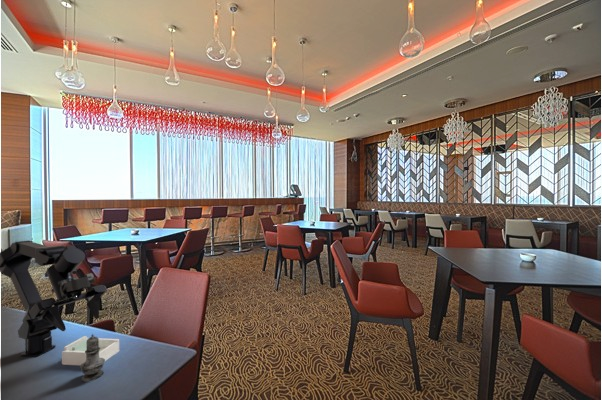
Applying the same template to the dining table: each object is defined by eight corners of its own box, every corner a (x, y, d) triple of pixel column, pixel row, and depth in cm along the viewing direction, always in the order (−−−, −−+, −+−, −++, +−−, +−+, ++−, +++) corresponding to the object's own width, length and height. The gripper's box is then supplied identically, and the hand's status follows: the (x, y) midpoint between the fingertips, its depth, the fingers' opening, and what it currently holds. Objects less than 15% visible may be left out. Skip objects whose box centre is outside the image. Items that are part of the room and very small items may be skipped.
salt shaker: (92, 383, 79) (91, 339, 79) (74, 380, 80) (74, 337, 81) (110, 370, 85) (109, 330, 85) (93, 368, 86) (93, 328, 86)
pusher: (72, 358, 90) (72, 347, 90) (89, 348, 96) (89, 337, 96) (75, 359, 90) (75, 347, 90) (92, 348, 96) (92, 337, 96)
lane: (62, 364, 89) (61, 348, 89) (86, 349, 98) (86, 334, 98) (97, 366, 87) (97, 349, 88) (119, 351, 96) (119, 336, 96)
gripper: (37, 273, 80) (58, 323, 76) (105, 260, 97) (125, 300, 93) (21, 294, 84) (39, 343, 80) (89, 278, 101) (107, 317, 97)
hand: (81, 324), depth 87 cm, fingers open, 9 cm apart
